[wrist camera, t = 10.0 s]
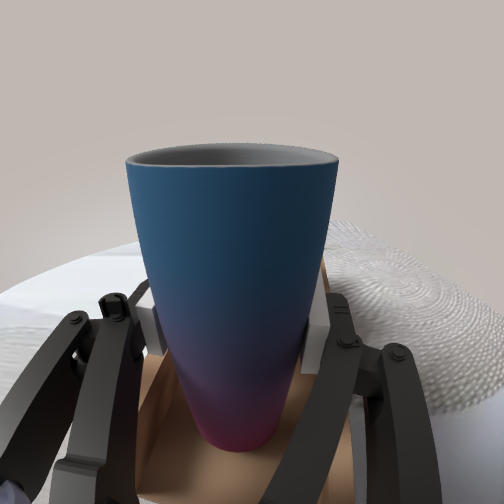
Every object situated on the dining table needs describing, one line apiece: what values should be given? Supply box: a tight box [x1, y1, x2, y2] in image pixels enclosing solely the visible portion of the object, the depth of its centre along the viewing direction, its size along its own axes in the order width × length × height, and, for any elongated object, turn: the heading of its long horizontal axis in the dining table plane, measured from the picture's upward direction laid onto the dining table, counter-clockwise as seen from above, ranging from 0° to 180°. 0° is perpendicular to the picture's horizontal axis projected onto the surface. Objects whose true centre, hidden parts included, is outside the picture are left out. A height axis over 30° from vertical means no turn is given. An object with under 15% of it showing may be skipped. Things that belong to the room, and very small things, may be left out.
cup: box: [126, 143, 339, 453], centre depth 12 cm, size 7×7×15 cm
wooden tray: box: [135, 256, 355, 504], centre depth 21 cm, size 26×12×7 cm, turn 173°
